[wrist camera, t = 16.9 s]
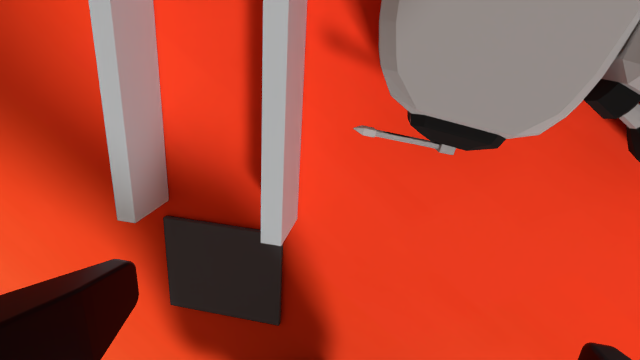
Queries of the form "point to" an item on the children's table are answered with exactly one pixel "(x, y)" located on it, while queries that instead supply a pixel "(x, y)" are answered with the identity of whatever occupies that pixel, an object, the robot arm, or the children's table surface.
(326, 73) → the children's table surface
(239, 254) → the mat
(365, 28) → the children's table surface
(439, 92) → the robot toy
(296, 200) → the channel
